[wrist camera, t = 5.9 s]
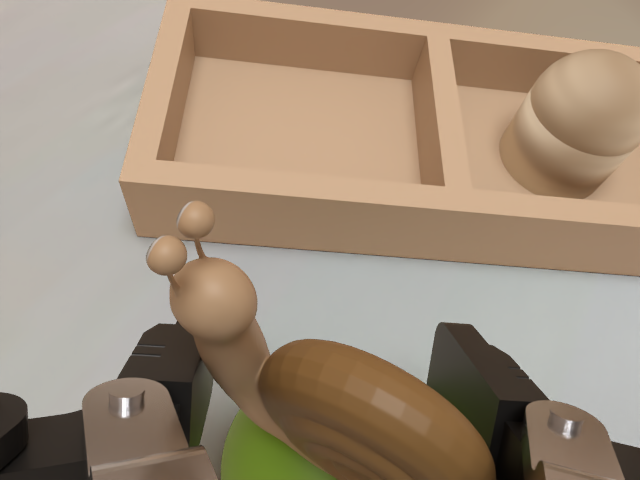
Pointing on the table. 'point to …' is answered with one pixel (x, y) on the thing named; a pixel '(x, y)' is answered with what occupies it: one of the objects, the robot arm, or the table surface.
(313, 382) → the snail figurine
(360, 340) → the table surface
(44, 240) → the table surface
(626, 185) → the divided tray
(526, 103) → the beige domed knob
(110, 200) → the table surface
